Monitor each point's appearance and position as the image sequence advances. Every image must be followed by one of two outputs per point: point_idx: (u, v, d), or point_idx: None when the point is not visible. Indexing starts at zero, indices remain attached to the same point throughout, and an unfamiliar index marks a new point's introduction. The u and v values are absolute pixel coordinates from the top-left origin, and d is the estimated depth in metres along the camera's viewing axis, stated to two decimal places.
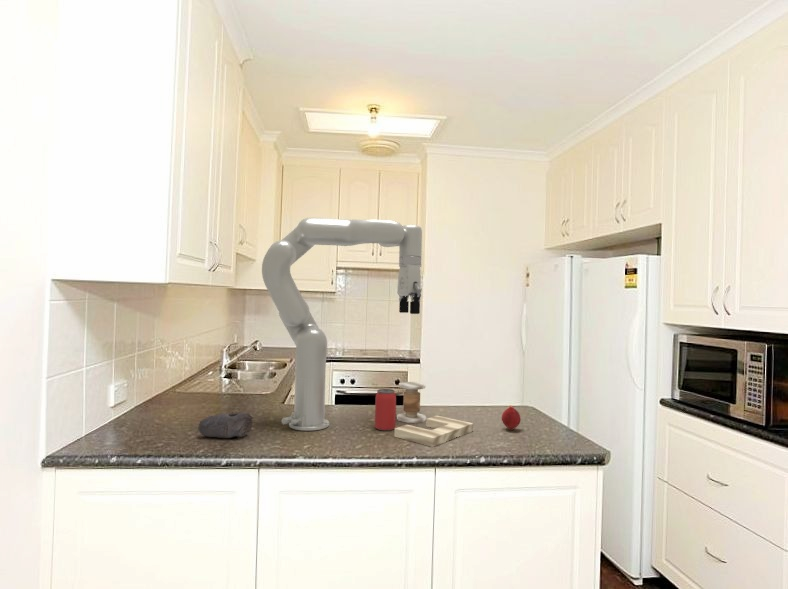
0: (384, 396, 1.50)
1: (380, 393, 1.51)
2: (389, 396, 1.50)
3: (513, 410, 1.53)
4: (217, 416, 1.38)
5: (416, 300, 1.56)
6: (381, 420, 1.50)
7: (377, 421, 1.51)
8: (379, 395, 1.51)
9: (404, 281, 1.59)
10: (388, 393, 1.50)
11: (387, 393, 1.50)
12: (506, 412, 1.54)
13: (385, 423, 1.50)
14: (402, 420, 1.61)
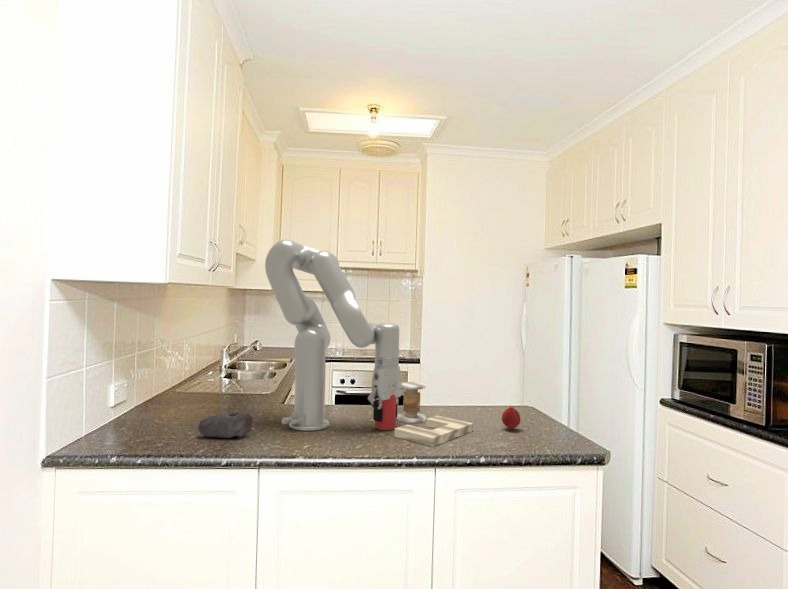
0: None
1: None
2: None
3: (513, 410, 1.53)
4: (217, 416, 1.38)
5: None
6: None
7: (377, 421, 1.51)
8: None
9: (397, 383, 1.53)
10: None
11: None
12: (506, 412, 1.54)
13: (385, 423, 1.50)
14: (402, 420, 1.61)
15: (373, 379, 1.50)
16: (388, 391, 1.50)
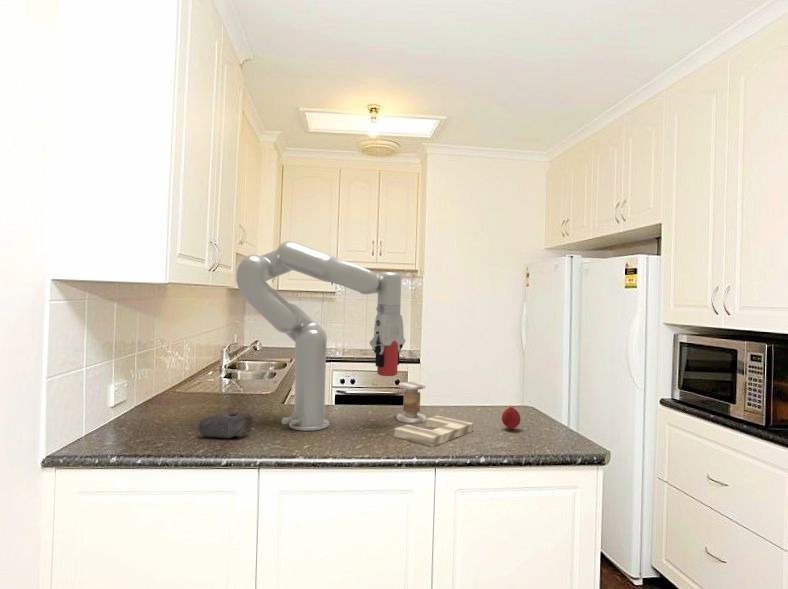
0: None
1: None
2: None
3: (513, 410, 1.53)
4: (217, 416, 1.38)
5: None
6: None
7: (379, 367, 1.54)
8: None
9: (398, 330, 1.56)
10: None
11: None
12: (506, 412, 1.54)
13: (387, 368, 1.53)
14: (402, 420, 1.61)
15: (375, 325, 1.54)
16: (390, 337, 1.53)
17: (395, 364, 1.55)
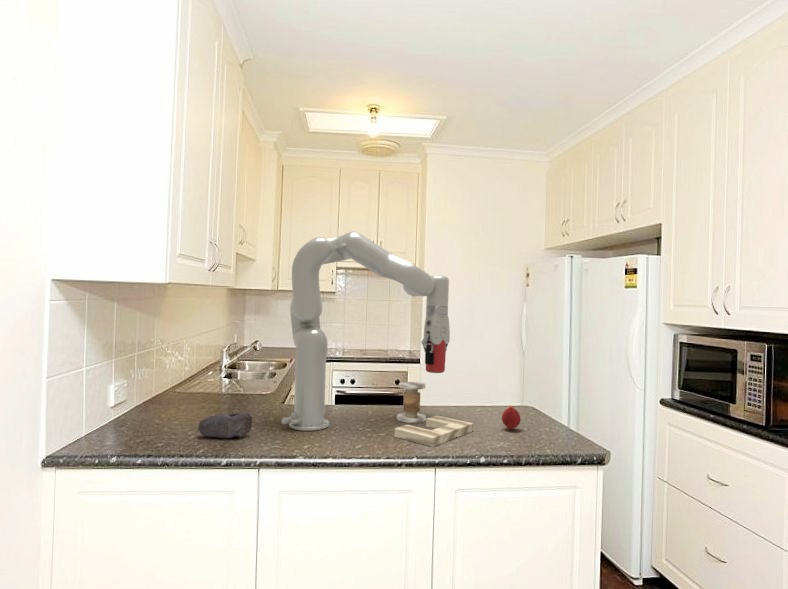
0: None
1: None
2: None
3: (513, 410, 1.53)
4: (217, 416, 1.38)
5: None
6: (433, 364, 1.63)
7: (429, 364, 1.64)
8: None
9: (446, 330, 1.67)
10: None
11: None
12: (506, 412, 1.54)
13: (436, 366, 1.63)
14: (402, 420, 1.61)
15: (425, 326, 1.64)
16: (439, 337, 1.63)
17: (443, 362, 1.65)
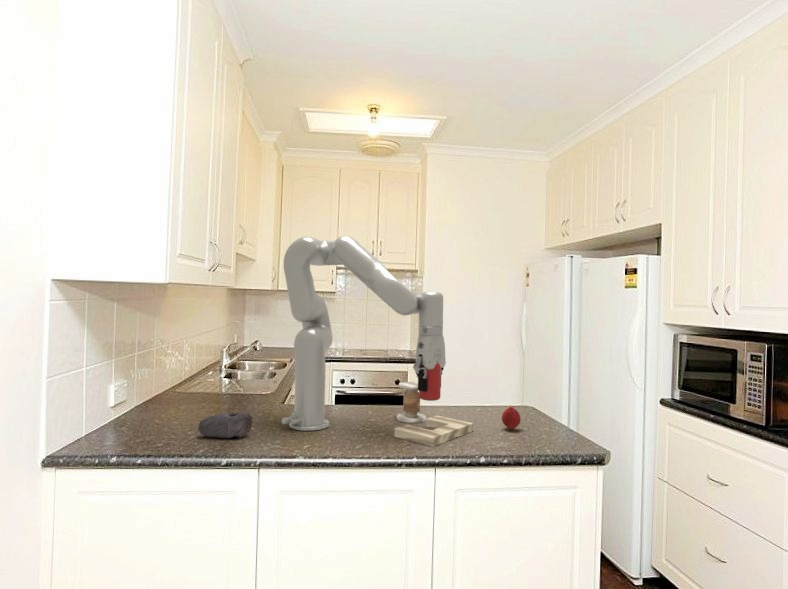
0: None
1: None
2: None
3: (513, 410, 1.53)
4: (217, 416, 1.38)
5: None
6: (427, 390, 1.47)
7: (422, 391, 1.47)
8: None
9: (441, 353, 1.50)
10: None
11: None
12: (506, 412, 1.54)
13: (430, 393, 1.46)
14: (402, 420, 1.61)
15: (418, 348, 1.47)
16: (433, 360, 1.46)
17: (438, 388, 1.48)
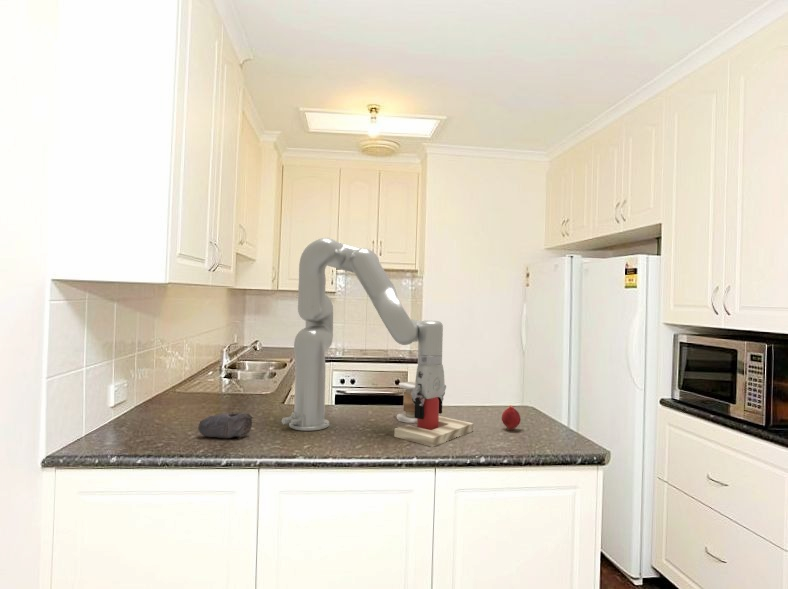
0: (428, 399, 1.47)
1: None
2: (432, 399, 1.47)
3: (513, 410, 1.53)
4: (217, 416, 1.38)
5: None
6: (425, 424, 1.46)
7: (420, 425, 1.47)
8: None
9: (440, 381, 1.50)
10: None
11: None
12: (506, 412, 1.54)
13: (428, 427, 1.46)
14: (402, 420, 1.61)
15: (417, 377, 1.47)
16: (432, 390, 1.46)
17: (436, 422, 1.48)
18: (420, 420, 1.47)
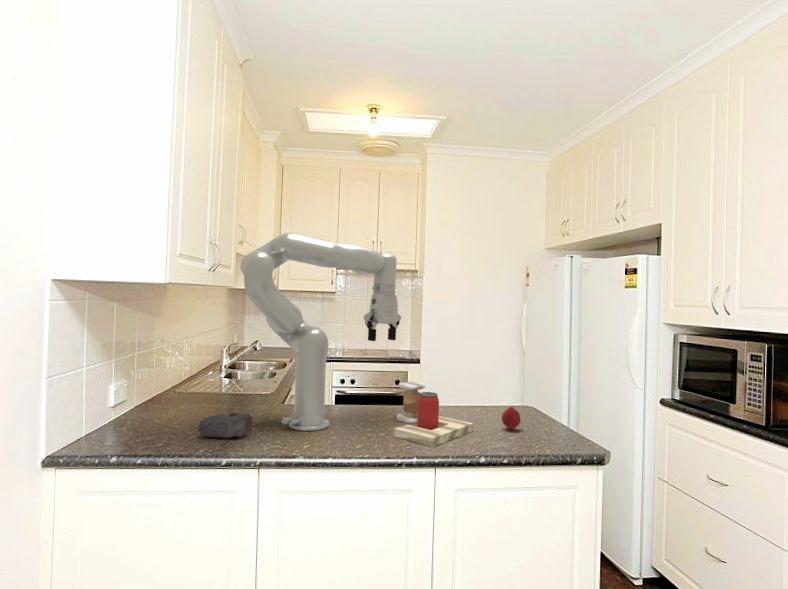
0: (428, 400, 1.47)
1: (423, 396, 1.47)
2: (432, 399, 1.47)
3: (513, 410, 1.53)
4: (217, 416, 1.38)
5: None
6: (425, 425, 1.46)
7: (420, 425, 1.47)
8: (422, 399, 1.47)
9: (393, 310, 1.65)
10: (431, 396, 1.47)
11: (430, 396, 1.47)
12: (506, 412, 1.54)
13: (428, 427, 1.46)
14: (402, 420, 1.61)
15: (371, 304, 1.63)
16: (384, 315, 1.62)
17: (437, 422, 1.48)
18: (420, 420, 1.47)
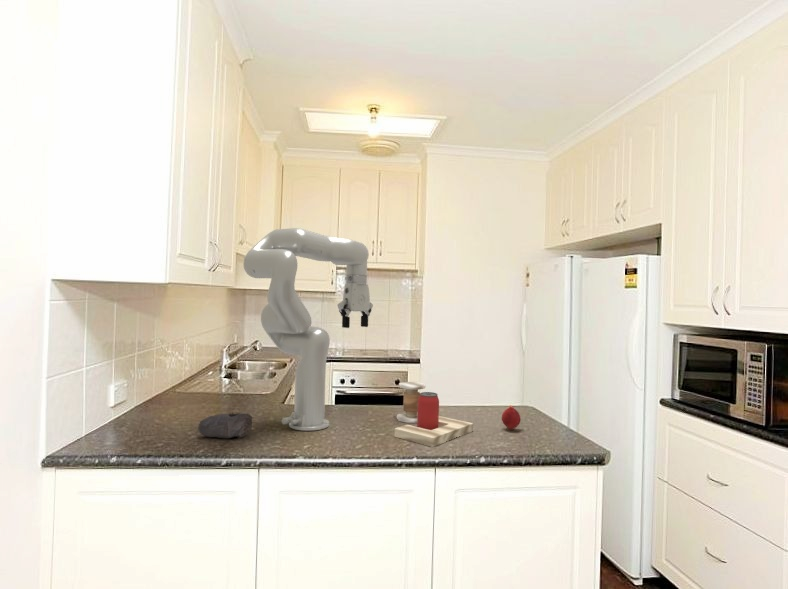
0: (428, 400, 1.47)
1: (423, 396, 1.47)
2: (433, 399, 1.47)
3: (513, 410, 1.53)
4: (217, 416, 1.38)
5: None
6: (425, 424, 1.46)
7: (420, 425, 1.47)
8: (422, 399, 1.47)
9: (365, 298, 1.76)
10: (432, 396, 1.47)
11: (431, 396, 1.47)
12: (506, 412, 1.54)
13: (428, 427, 1.46)
14: (402, 420, 1.61)
15: (344, 293, 1.73)
16: (357, 303, 1.73)
17: (437, 422, 1.48)
18: (420, 420, 1.47)
